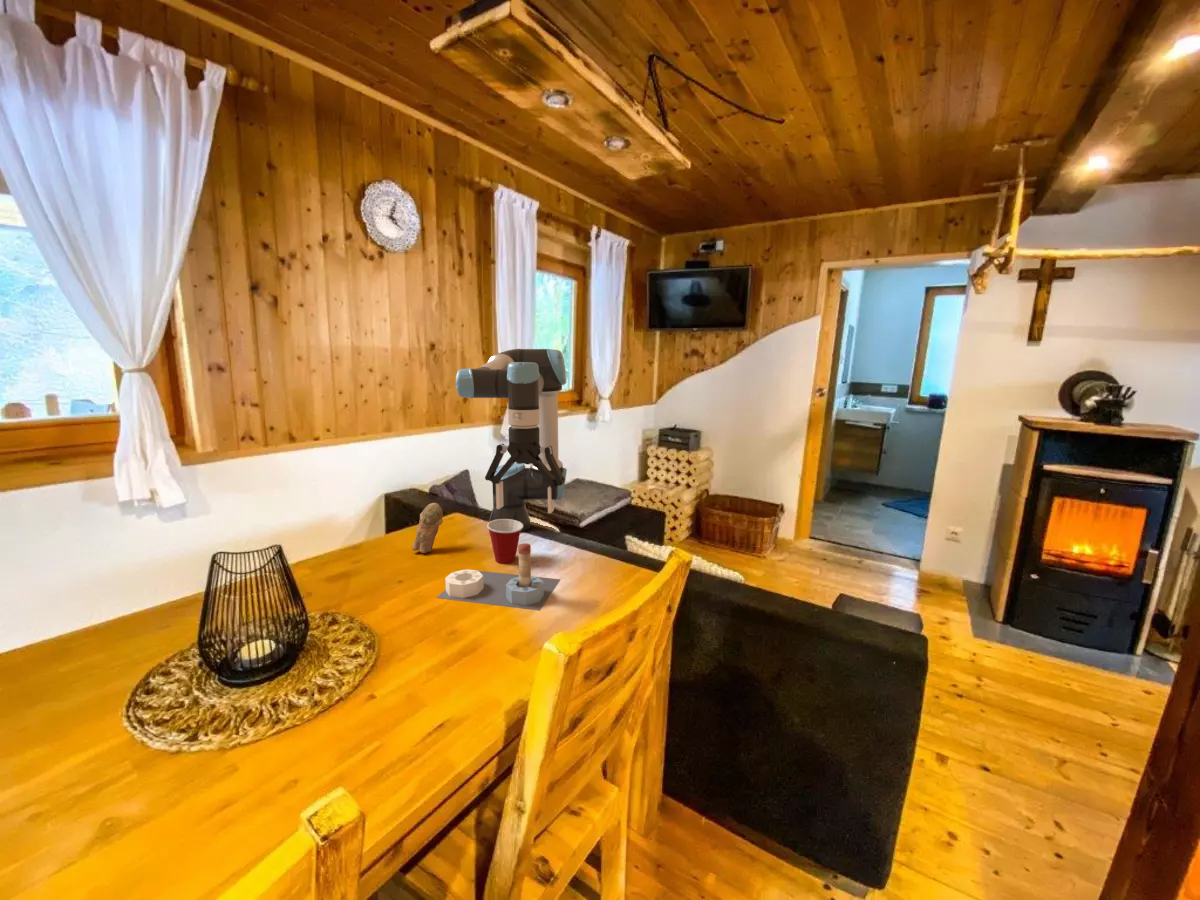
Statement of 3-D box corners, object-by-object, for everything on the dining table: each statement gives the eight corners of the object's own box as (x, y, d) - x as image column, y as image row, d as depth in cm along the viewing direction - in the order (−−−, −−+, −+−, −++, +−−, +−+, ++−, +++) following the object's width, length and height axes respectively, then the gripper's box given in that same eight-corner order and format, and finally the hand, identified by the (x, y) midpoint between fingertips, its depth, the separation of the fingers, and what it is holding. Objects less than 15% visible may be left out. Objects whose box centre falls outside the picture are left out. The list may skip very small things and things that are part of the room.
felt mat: (468, 570, 145) (468, 569, 145) (560, 580, 139) (560, 579, 139) (435, 599, 128) (435, 597, 128) (539, 611, 122) (539, 610, 122)
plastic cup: (511, 571, 145) (510, 532, 143) (480, 565, 149) (479, 526, 147) (530, 557, 155) (530, 521, 153) (501, 552, 159) (500, 516, 157)
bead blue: (515, 587, 134) (515, 574, 134) (547, 590, 132) (547, 578, 132) (501, 602, 125) (501, 589, 125) (536, 606, 124) (535, 593, 123)
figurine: (410, 553, 157) (407, 508, 154) (426, 544, 164) (423, 501, 162) (433, 557, 154) (430, 510, 152) (448, 548, 162) (446, 503, 159)
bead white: (457, 580, 138) (456, 568, 137) (487, 584, 136) (487, 571, 135) (440, 595, 129) (439, 582, 128) (472, 599, 127) (472, 586, 126)
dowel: (521, 593, 131) (520, 542, 128) (533, 594, 130) (532, 544, 127) (517, 598, 128) (516, 547, 125) (528, 600, 127) (528, 548, 124)
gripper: (469, 426, 120) (472, 510, 124) (569, 430, 115) (568, 518, 119) (483, 422, 128) (485, 501, 131) (577, 426, 122) (576, 508, 126)
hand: (525, 509), depth 125 cm, fingers open, 13 cm apart
